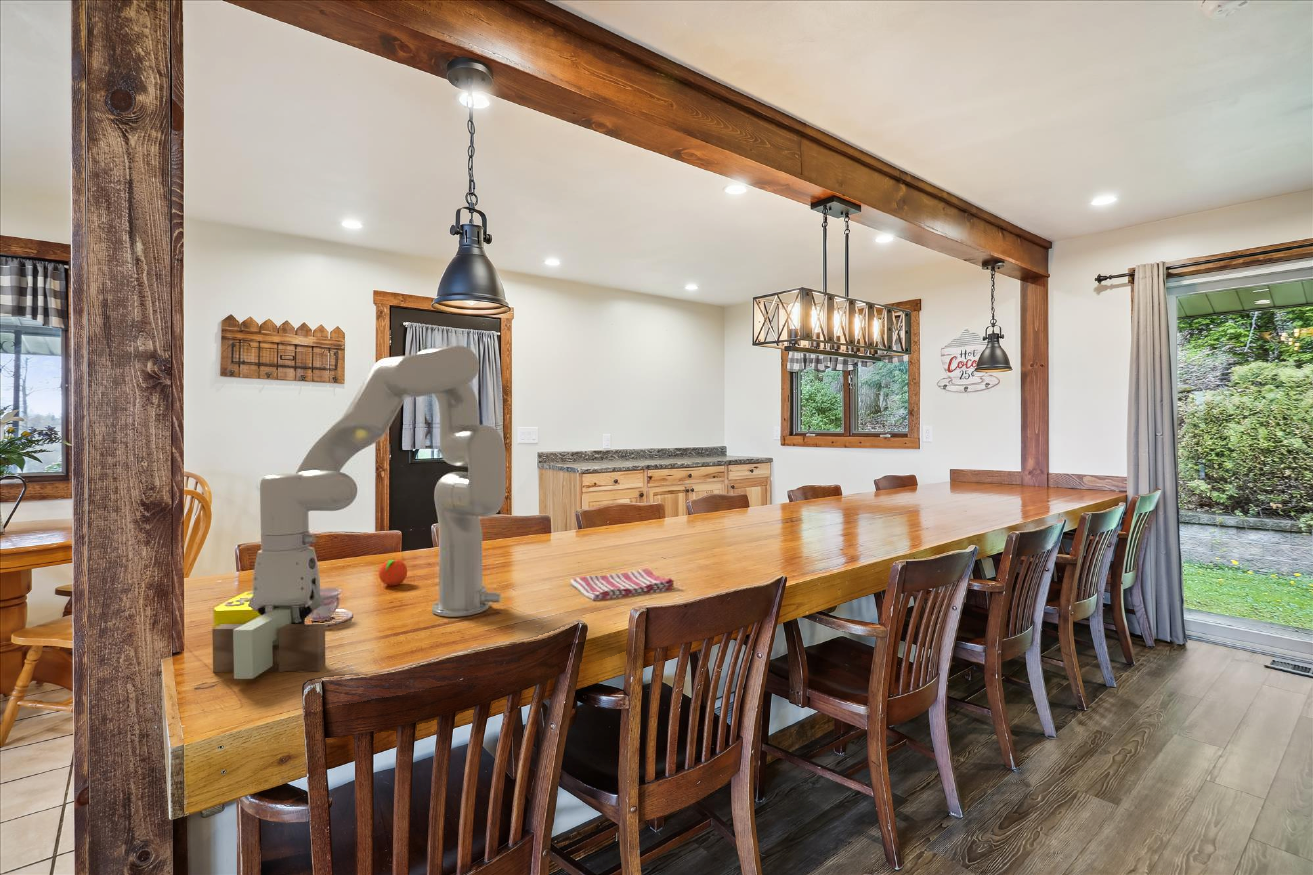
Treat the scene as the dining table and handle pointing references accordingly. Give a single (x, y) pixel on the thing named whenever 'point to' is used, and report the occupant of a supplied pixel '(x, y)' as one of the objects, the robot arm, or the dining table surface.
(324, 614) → the teacup
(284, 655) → the walnut upright plate
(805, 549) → the dining table surface
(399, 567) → the clementine
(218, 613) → the element tile
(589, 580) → the dish towel
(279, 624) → the sage cross-piece
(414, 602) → the dining table surface
